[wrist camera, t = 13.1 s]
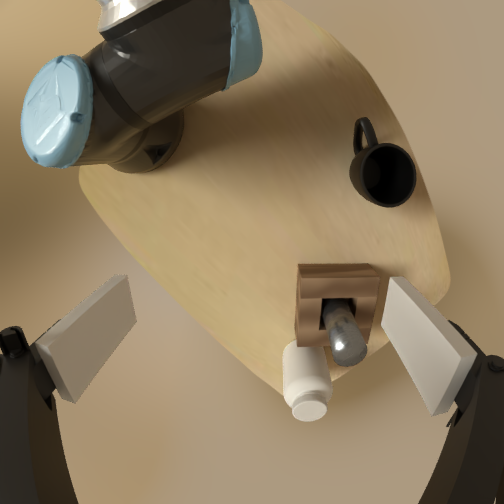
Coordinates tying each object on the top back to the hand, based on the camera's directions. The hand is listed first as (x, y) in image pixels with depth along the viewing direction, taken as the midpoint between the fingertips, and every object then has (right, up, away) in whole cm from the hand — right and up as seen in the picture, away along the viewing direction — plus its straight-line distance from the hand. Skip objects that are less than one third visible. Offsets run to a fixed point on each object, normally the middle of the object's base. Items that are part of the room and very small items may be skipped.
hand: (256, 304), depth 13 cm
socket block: (+13, -5, +33) cm, 36 cm away
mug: (+17, +16, +26) cm, 35 cm away
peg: (+13, -6, +31) cm, 35 cm away
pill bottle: (+9, -17, +37) cm, 42 cm away
